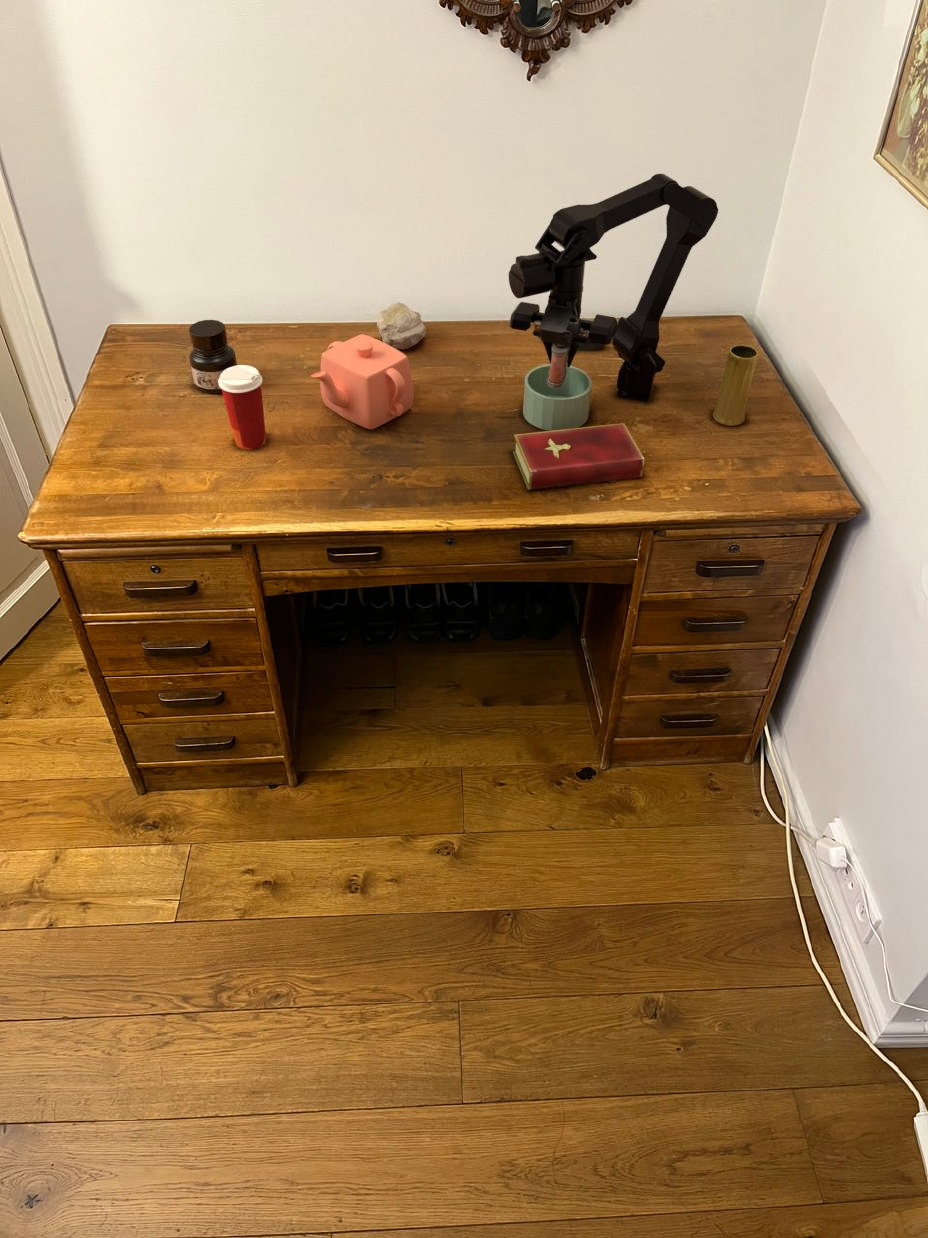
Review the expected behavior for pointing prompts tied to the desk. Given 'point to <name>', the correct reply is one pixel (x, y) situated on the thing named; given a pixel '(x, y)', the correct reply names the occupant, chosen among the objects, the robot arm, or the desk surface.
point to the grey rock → (400, 326)
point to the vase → (735, 385)
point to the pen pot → (557, 399)
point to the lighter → (558, 364)
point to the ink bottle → (210, 354)
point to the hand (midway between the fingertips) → (560, 364)
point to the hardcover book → (578, 456)
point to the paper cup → (244, 405)
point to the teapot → (365, 381)
